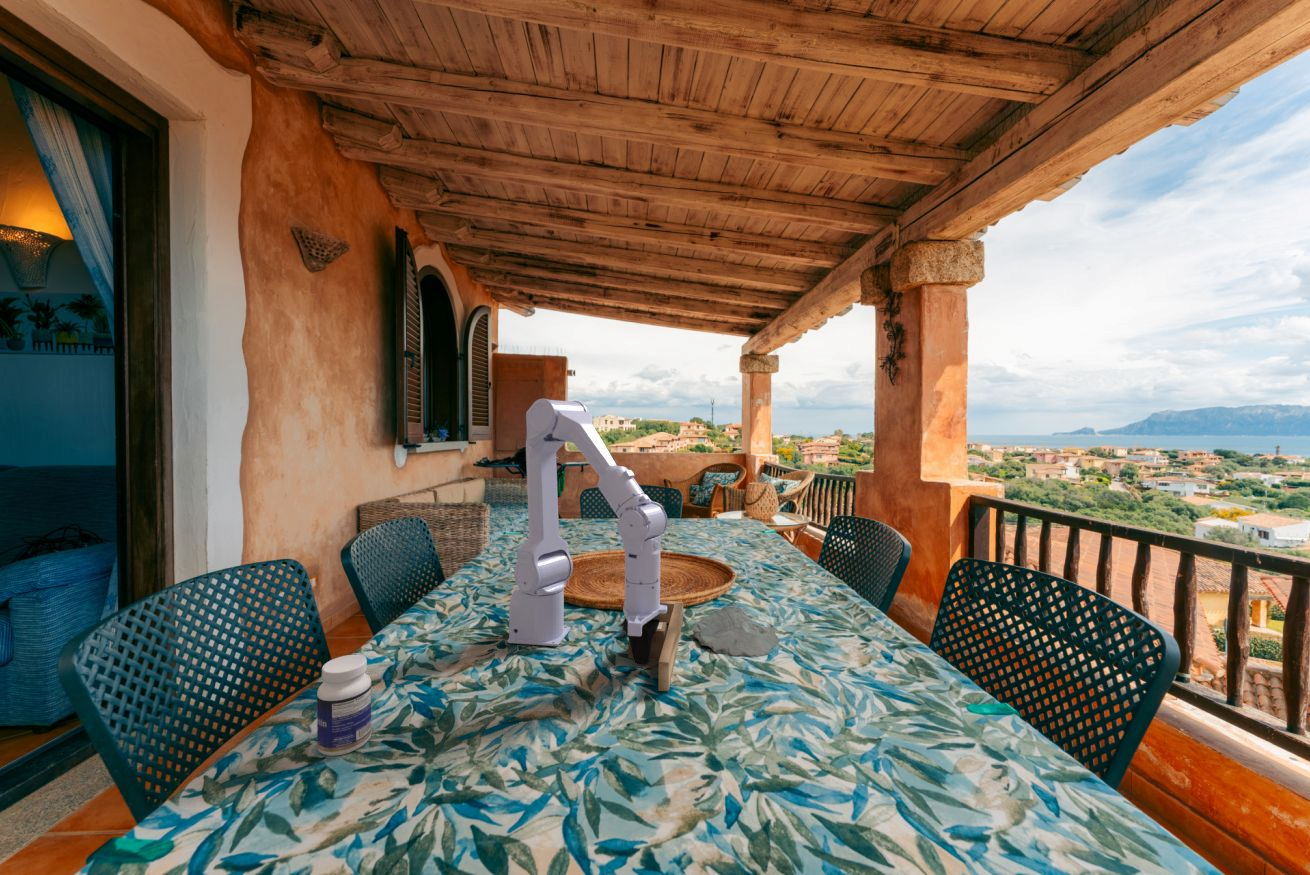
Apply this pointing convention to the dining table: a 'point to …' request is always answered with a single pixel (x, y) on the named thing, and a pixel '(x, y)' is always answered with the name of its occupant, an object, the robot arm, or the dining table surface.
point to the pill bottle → (344, 706)
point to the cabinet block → (655, 642)
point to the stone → (735, 633)
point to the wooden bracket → (670, 642)
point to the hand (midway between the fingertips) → (641, 662)
